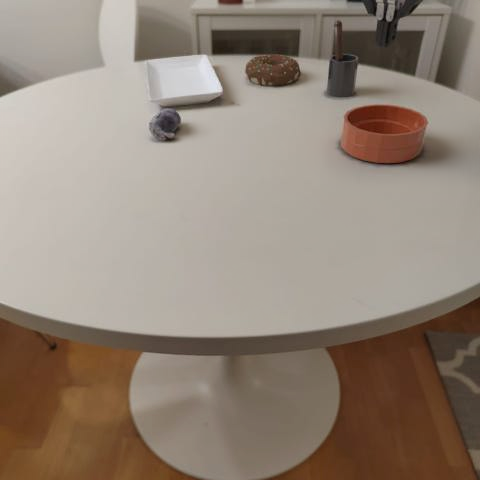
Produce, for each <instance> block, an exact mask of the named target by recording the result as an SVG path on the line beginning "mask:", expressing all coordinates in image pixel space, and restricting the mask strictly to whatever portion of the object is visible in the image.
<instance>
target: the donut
mask: <svg viewBox="0 0 480 480" xmlns="http://www.w3.org/2000/svg"><path fill="white" fill-rule="evenodd" d="M244 72H245V74H246V75H245V76H246V78H247V80H249V82H251V83H252V84H254V85H258V86H264V87H278V86H285V85H289V84H291V83H293V82H295V81H296V80H298V79H299V78H300V77H301V74H302V73H301V69H300V64H299V62H298V60H297V59H295V58H293V57H291V56H286V55H282V54H277V53H275V54H270V53H268V54H265V55H256V56H253V57H252V58H251V59H250V60H249V61H247V63H246V64H245V69H244Z"/></svg>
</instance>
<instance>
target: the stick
mask: <svg viewBox="0 0 480 480" xmlns="http://www.w3.org/2000/svg"><path fill="white" fill-rule="evenodd" d="M333 27H334V28H333V30H334V55H335V60H336V61H343V54H344V47H343V46H344V45H343V43H344V41H343V40H344V39H343V37H344V36H343V22H342V21H341V20H336V21H335V22H334V24H333Z"/></svg>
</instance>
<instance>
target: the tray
mask: <svg viewBox="0 0 480 480" xmlns="http://www.w3.org/2000/svg"><path fill="white" fill-rule="evenodd" d="M144 67H145V68H144V69H145V79H146V86H147V99H148V101H149V102H150V103H152V104H155V105H159V106H161V107H163V108H171V107H179V106H188V105H189V106H191V105H200V104H201V105H202V104H209V103H210V102H211V101H212V100H215V99H217V98H219V97H220V96H222V95H223V94H224V88H223V85H222V83H221V81H220V79H219V77H218V75H217V72H216V70H215V68H214V66H213V64H212V62H211V60H210V58H209V56H208V54H192V55H182V56H172V57H163V58H154V59H147V60H144Z"/></svg>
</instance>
